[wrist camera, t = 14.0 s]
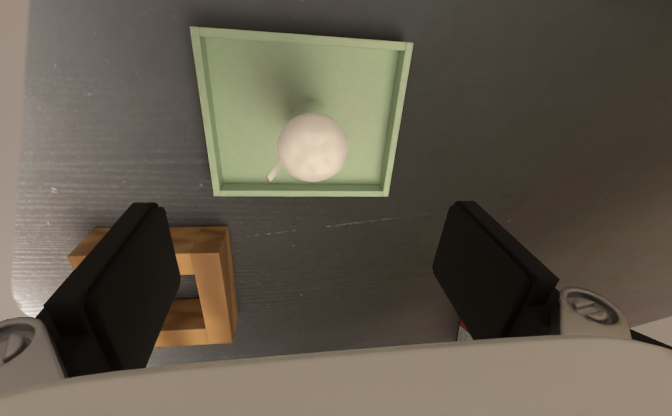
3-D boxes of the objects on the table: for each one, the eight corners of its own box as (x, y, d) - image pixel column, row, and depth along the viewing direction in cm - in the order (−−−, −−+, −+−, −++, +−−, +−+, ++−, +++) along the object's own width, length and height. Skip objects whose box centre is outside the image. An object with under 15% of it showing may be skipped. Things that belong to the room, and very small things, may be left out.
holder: (129, 316, 36) (109, 350, 32) (95, 227, 30) (66, 256, 26) (238, 311, 38) (232, 342, 34) (227, 226, 32) (218, 252, 28)
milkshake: (263, 108, 26) (248, 146, 17) (322, 82, 25) (336, 108, 17) (287, 155, 28) (284, 209, 20) (341, 132, 28) (363, 177, 19)
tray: (219, 185, 30) (213, 196, 28) (197, 26, 23) (188, 26, 21) (382, 186, 32) (388, 196, 30) (404, 41, 25) (413, 42, 23)
